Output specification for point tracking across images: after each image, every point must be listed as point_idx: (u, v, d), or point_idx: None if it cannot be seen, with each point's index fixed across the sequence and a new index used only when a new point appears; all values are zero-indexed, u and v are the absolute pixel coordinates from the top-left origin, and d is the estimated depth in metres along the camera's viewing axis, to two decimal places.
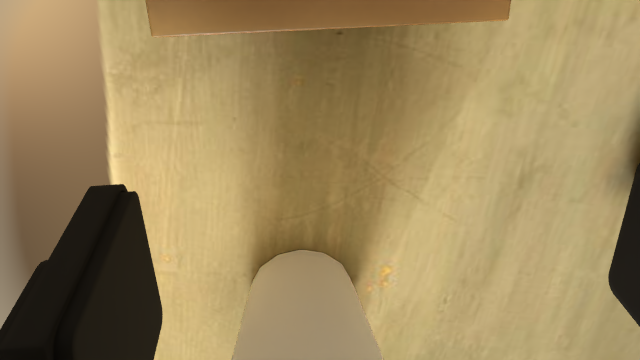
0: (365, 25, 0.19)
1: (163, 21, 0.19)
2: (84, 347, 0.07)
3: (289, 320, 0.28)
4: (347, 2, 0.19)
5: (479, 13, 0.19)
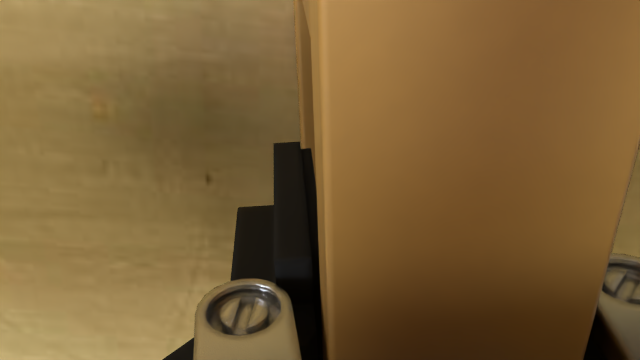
0: None
1: None
2: None
3: None
4: None
5: None
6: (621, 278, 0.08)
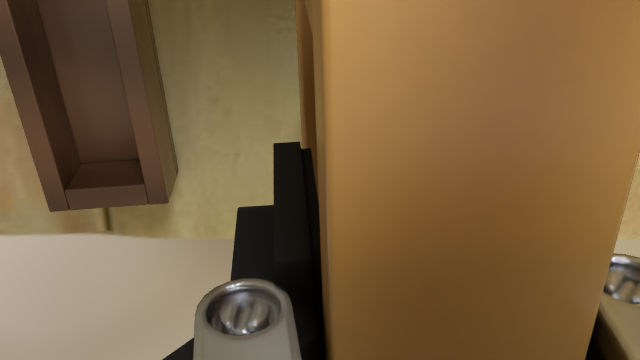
0: None
1: None
2: None
3: None
4: None
5: None
6: (621, 278, 0.08)
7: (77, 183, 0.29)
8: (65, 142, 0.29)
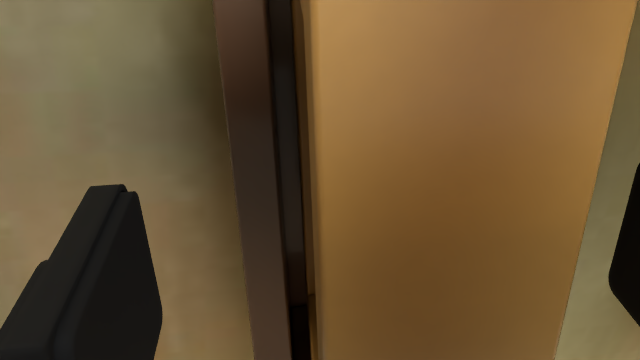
0: None
1: None
2: (84, 347, 0.07)
3: None
4: None
5: None
6: None
7: None
8: None
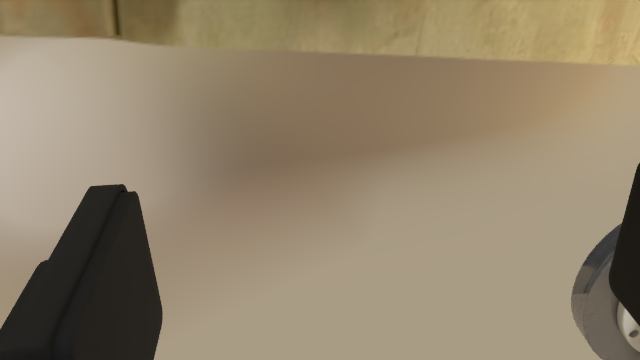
0: None
1: None
2: (84, 347, 0.07)
3: None
4: None
5: None
6: None
7: None
8: None
